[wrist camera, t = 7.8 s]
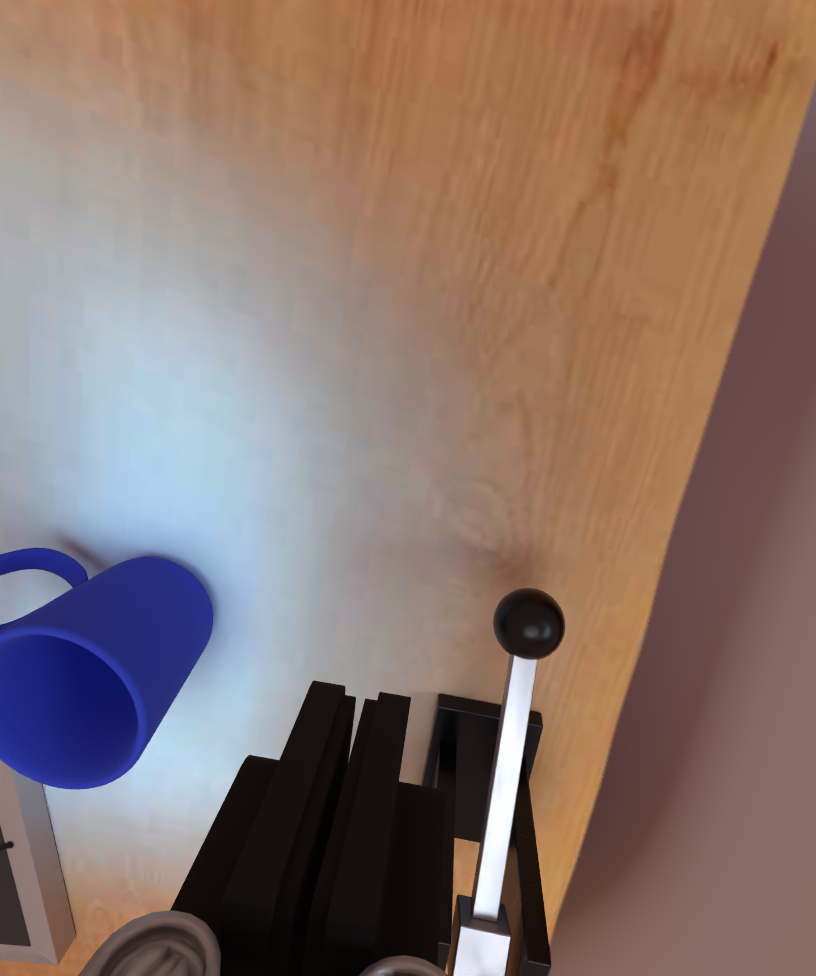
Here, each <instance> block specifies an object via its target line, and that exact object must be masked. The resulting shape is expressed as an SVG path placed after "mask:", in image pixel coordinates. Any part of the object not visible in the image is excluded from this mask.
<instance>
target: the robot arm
mask: <svg viewBox="0 0 816 976" xmlns="http://www.w3.org/2000/svg"><path fill="white" fill-rule="evenodd" d="M410 701H411V697H407V696H401V695H395V694H389V693H383V692H380V693H379V696H378V700H377V701H376V700H370V699H365V702H364V706H363V710H362V713H361V717H360V721H359V725H358V729H357V732H356V736H355V740H354V744H353V748H352V751H351V755H350V759H349V753H350V745H351V737H352V728H353V720H354V712H355V703H356V697H353V696H347V695H345V686H342V685H336V684H331V683H325V682H319V681H313V682H312V684H311V686H310V688H309V690H308V693H307V695H306V698H305V700H304V702H303V705H302V707H301V710H300V712H299V714H298V717H297V719H296V722H295V724H294V727H293V729H292V731H291V734H290V736H289V739H288V741H287V743H286V746H285V748H284V751H283V753H282V756H281V758H280V760H275V759H269V758H263V757H258V756H252V755H249V756H248V757H247V758H246V759H245V760H244V762H243V764H242V765H241V767H240V770H239V772H238V774H237V776H236V778H235V780H234V782H233V784H232V786H231V788H230V790H229V792H228V794H227V796H226V798H225V800H224V802H223V804H222V806H221V808H220V810H219V812H218V814H217V816H216V818H215V820H214V822H213V824H212V826H211V829H210V831H209V833H208V835H207V837H206V839H205V841H204V843H203V845H202V847H201V849H200V851H199V853H198V855H197V857H196V859H195V861H194V863H193V865H192V867H191V869H190V871H189V873H188V875H187V877H186V879H185V881H184V883H183V885H182V887H181V890H180V892H179V894H178V896H177V898H176V900H175V902H174V904H173V906H172V908H171V910H170V911H162V912H153V913H150V914H147V915H145V916H142V917H139V918H137V919H134V920H132V921H130V922H129V923H127V924H126V925H124V926H123V927H121V928H120V929H119V930H117V931H116V932H114V933H113V934H112V935H111V936H110V937H109V938H108V939H107V940H106V941H105V942H104V943H103V944H102V945H101V947H100V948H99V949H98V950H97V951H96V952H95V953H94V955H93V956H92V958H91V959H90V960H89V962H88V963H87V964H86V966H85V967H84V968H83V970H82V971H81V972H80V974H79V975H78V976H448V975H447V974H446V973H445V972H444V971H443V970H442V969H441V968H439V967H437V963H438V943H439V923H440V902H441V882H442V862H443V841H444V821H445V799H446V793H445V790H443V789H437V788H432V787H426V786H420V785H415V784H409V783H404V782H399V775H400V769H401V762H402V755H403V748H404V742H405V735H406V728H407V722H408V715H409V708H410ZM348 761H349V763H348Z"/></svg>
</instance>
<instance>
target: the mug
mask: <svg viewBox="0 0 816 976" xmlns="http://www.w3.org/2000/svg"><path fill="white" fill-rule="evenodd" d="M25 569H39V570H45V571H49V572H52V573H54V574H56V575H58V576H60V577H62V578H63V579H65V580H66V581H67V582H68V583H69V584H70V585H71V586H72V587H73V588H72V589H71V590H69V591H68V592H66V593H64V594H63V595H61V596H59V597H58V598H56V599H54V600H53V601H51V602H49V603H48V604H46V605H44V606H42V607H41V608H39V609H37V610H35V611H33V612H31V613H29V614H27V615H26V616H24V617H22V618H19V619H17V620H14V621H12V622H9V623H6V624H2V625H0V760H1V761H3V762H4V763H5V764H6V765H8V766H9V767H10V768H12V769H14V770H15V771H17V772H18V773H20V774H21V775H23V776H25V777H27V778H30V779H32V780H34V781H37V782H39V783H42V784H46V785H49V786H53V787H57V788H64V789H89V788H94V787H99V786H102V785H105V784H108V783H110V782H112V781H114V780H116V779H118V778H120V777H121V776H122V775H124V774H125V773H126V772H128V771H129V770H130V769H131V768H132V767H133V766H134V764H135V763H136V762H137V761H138V759H139V758H140V756H141V754H142V753H143V751H144V749H145V748H146V746H147V744H148V743H149V741H150V739H151V738H152V736H153V734H154V733H155V731H156V729H157V728H158V726H159V724H160V723H161V721H162V719H163V718H164V716H165V714H166V713H167V711H168V709H169V708H170V706H171V704H172V703H173V701H174V699H175V698H176V696H177V694H178V693H179V691H180V689H181V688H182V686H183V684H184V683H185V681H186V679H187V678H188V676H189V674H190V673H191V671H192V669H193V668H194V666H195V664H196V662H197V661H198V659H199V657H200V656H201V654H202V652H203V651H204V649H205V647H206V645H207V643H208V641H209V638H210V635H211V631H212V625H213V611H212V605H211V602H210V599H209V596H208V594H207V592H206V590H205V589H204V587H203V585H202V584H201V583H200V582H199V580H198V579H197V578H196V577H195V576H194V575H193V574H192V573H190V572H189V571H188V570H187V569H185V568H183V567H182V566H180V565H178V564H176V563H174V562H171V561H168V560H165V559H160V558H154V557H144V558H136V559H131V560H128V561H125V562H122V563H119V564H117V565H115V566H113V567H111V568H110V569H108V570H106V571H104V572H102V573H100V574H98V575H97V576H95V577H93V578H91V579H89V580H88V576H87V573H86V571H85V569H84V568H83V567H82V566H81V565H80V564H79V563H78V562H77V561H76V560H74V559H73V558H71V557H69V556H68V555H66V554H64V553H61V552H59V551H55V550H52V549H46V548H29V549H22V550H17V551H12V552H8V553H5V554H1V555H0V575H3V574H6V573H10V572H14V571H18V570H25Z"/></svg>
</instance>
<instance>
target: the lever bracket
mask: <svg viewBox="0 0 816 976" xmlns="http://www.w3.org/2000/svg"><path fill="white" fill-rule="evenodd" d="M501 708H502V706H500V705H495V704H490V703H484V702H479V701H474V700H468V699H463V698H458V697H452V696H447V695H442V694H439V695H438V701H437V706H436V711H435V716H434V721H433V726H432V731H431V736H430V742H429V747H428V752H427V757H426V762H425V767H424V772H423V778H422V783H421V786H426V787H432V788H437V789H443V790H445V793H446V799H445V821H444V841H443V862H442V882H441V902H440V923H439V943H438V963H437V967H439V968H441V969H442V970H443V971H444V972H445V969H446V965H447V960H448V956H449V952H450V948H451V935H452V900H453V864H454V838H459V839H464V840H469V841H474V842H479V843H480V841H481V834H482V828H483V822H484V815H485V809H486V803H487V796H488V790H489V784H490V778H491V771H492V765H493V759H494V752H495V746H496V740H497V733H498V727H499V721H500V714H501ZM542 729H543V723H542V717H541V713H537V712H532V711H530V713H529V719H528V726H527V732H526V739H525V745H524V752H523V758H522V765H521V771H520V778H519V784H518V791H517V797H516V804H515V810H514V817H513V823H512V830H511V836H510V843H509V849H508V856H507V862H506V868H505V875H504V881H503V888H502V894H501V901H500V903H503V904H504V905H505V908H506V913H507V918H508V922H509V927H510V931H511V936H512V939H511V945H510V952H509V958H508V965H507V972H506V976H549V975H550V968H551V952H550V946H549V943H548V935H547V926H546V918H545V910H544V902H543V894H542V886H541V878H540V870H539V862H538V854H537V845H536V837H535V829H534V821H533V813H532V805H531V797H530V789H529V779H530V775H531V771H532V767H533V763H534V759H535V756H536V752H537V748H538V744H539V740H540V736H541V732H542Z"/></svg>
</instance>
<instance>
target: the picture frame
mask: <svg viewBox="0 0 816 976" xmlns="http://www.w3.org/2000/svg"><path fill="white" fill-rule="evenodd" d="M75 937H76V934H75V929H74V925H73V920H72V916H71V911H70V907H69V903H68V898H67V894H66V889H65V885H64V880H63V876H62V871H61V867H60V863H59V858H58V854H57V849H56V845H55V840H54V836H53V831H52V827H51V823H50V818H49V814H48V809H47V805H46V800H45V796H44V792H43V787H42V783H39V782H37V781H34V780H32V779H30V778H27V777H25V776H23V775H21V774H20V773H18V772H17V771H15V770H14V769H12V768H10V767H9V766H8V765H6V764H5V763H4V762H3V761H1V760H0V960H8V961H19V962H30V963H41V964H52V965H58V964H59V963H60V961H61V960H62V958H63V956H64V955H65V953H66V952H67V950H68V948H69V947H70V945H71V943H72V942H73V940H74V939H75Z"/></svg>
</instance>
